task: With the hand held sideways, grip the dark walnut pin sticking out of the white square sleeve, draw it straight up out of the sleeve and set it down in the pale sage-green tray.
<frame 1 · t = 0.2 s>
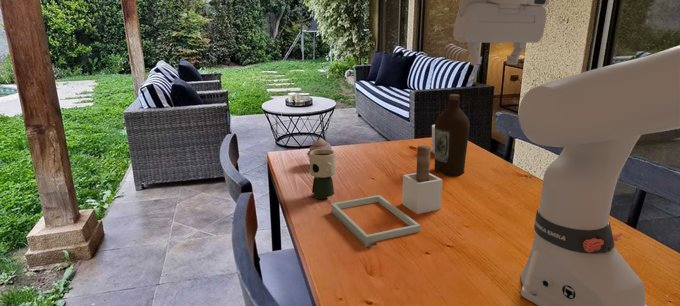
hand: (493, 64, 94), 39 cm above the table, tool pointing down, fingers open, 8 cm apart
sage tray: (373, 223, 111), on the table
character mug: (323, 197, 127), on the table
white cup: (441, 153, 167), on the table
white square sleeve: (420, 209, 118), on the table
olive oil: (448, 171, 147), on the table
cupcake: (320, 166, 153), on the table
walnut pin: (421, 206, 118), point 1 cm above the table, touching white square sleeve
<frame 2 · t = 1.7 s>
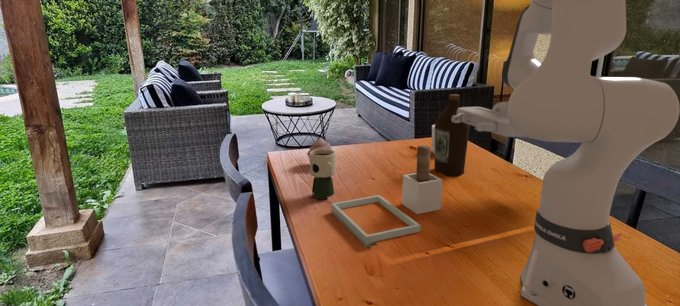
hand: (464, 123, 116), 22 cm above the table, tool horizontal, fingers open, 8 cm apart
nothing on the table moved.
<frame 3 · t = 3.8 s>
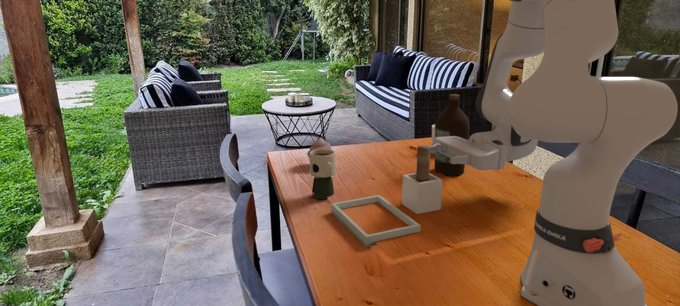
hand: (439, 155, 116), 14 cm above the table, tool horizontal, fingers open, 8 cm apart
nothing on the table moved.
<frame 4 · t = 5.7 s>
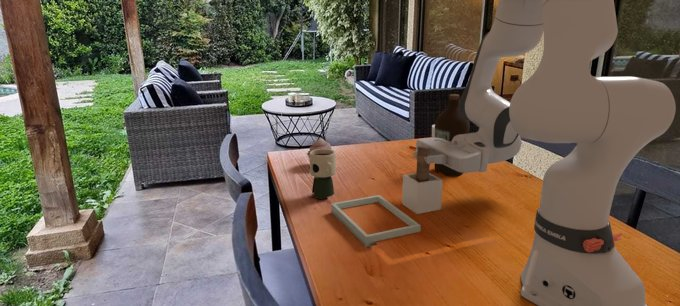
hand: (420, 157, 114), 15 cm above the table, tool horizontal, fingers closed on walnut pin, 3 cm apart
walnut pin: (421, 206, 118), point 1 cm above the table, touching white square sleeve, gripper
everything else where it was.
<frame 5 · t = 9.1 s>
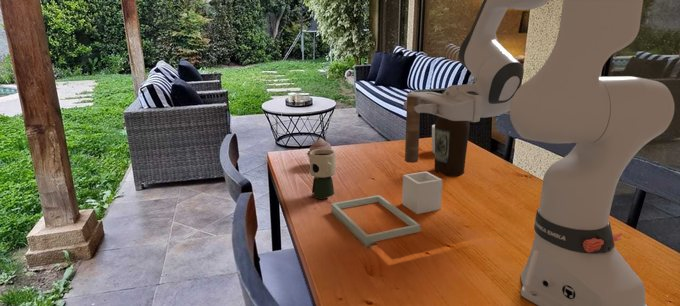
hand: (410, 107, 108), 28 cm above the table, tool horizontal, fingers closed on walnut pin, 3 cm apart
walnut pin: (411, 160, 112), point 14 cm above the table, touching gripper
everything else where it was.
when the fingers open (16 cm above the table, at t = 12.5 s): walnut pin drops 2 cm, resting on sage tray.
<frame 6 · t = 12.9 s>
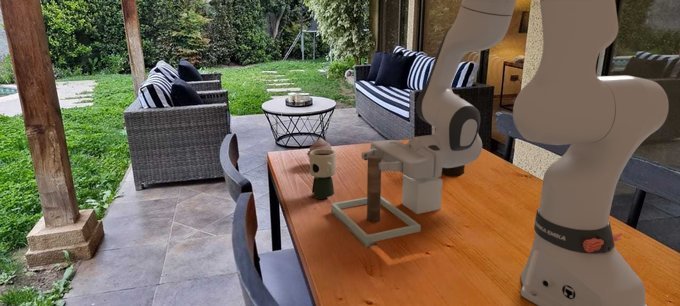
hand: (371, 161, 106), 16 cm above the table, tool horizontal, fingers open, 7 cm apart
walnut pin: (373, 220, 111), point 1 cm above the table, touching sage tray
everything else where it was.
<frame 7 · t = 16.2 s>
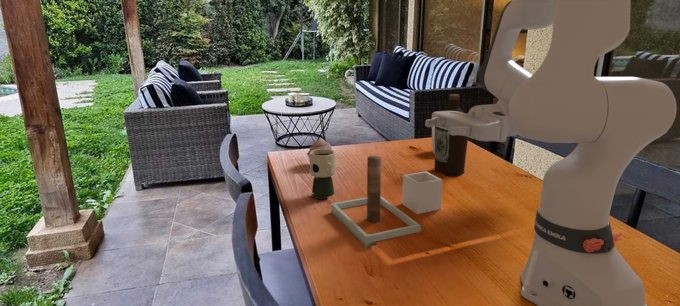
hand: (437, 127, 111), 22 cm above the table, tool horizontal, fingers open, 8 cm apart
nothing on the table moved.
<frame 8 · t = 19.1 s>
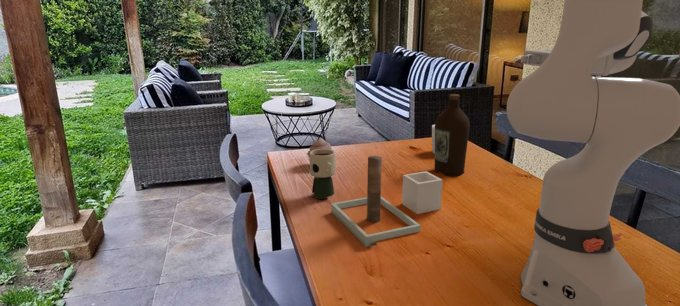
hand: (537, 61, 107), 38 cm above the table, tool horizontal, fingers open, 8 cm apart
nothing on the table moved.
at the end: walnut pin inside the target area on the sage tray (0.0 cm from its centre), point 0.8 cm above the sage tray's base; the gripper is holding nothing; walnut pin touching sage tray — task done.
